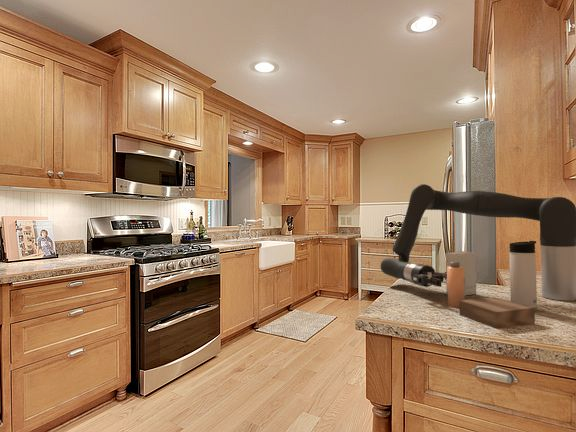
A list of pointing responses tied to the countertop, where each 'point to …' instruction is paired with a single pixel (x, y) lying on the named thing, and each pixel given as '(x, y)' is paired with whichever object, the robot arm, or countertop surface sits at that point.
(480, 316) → the walnut plinth
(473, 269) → the skincare box
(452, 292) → the orange bottle
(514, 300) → the travel mug
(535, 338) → the countertop surface
